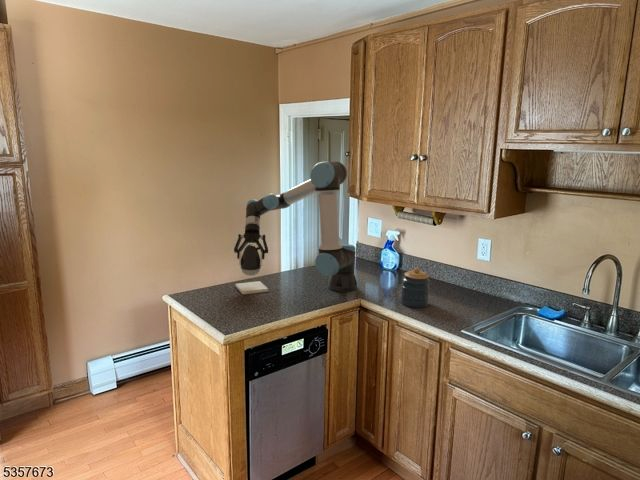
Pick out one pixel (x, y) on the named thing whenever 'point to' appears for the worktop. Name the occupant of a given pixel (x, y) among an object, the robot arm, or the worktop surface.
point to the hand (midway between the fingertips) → (250, 264)
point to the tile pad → (251, 287)
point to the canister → (415, 289)
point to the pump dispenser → (250, 260)
